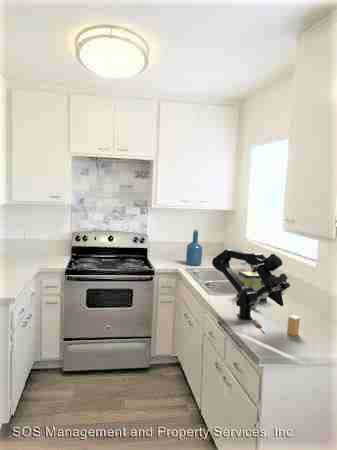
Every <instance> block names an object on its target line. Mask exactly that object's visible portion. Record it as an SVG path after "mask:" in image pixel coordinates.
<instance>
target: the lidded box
mask: <svg viewBox="0 0 337 450" xmlns="http://www.w3.org/2000/svg"><path fill="white" fill-rule="evenodd" d="M287 318H288V319H287V330H286V331H287V332H286V334H287V335H290V336H293V337H295V336H298V335H299V330H300V329H299V328H300V321H301V316H298V315H295V314H292V315H288V317H287Z"/></svg>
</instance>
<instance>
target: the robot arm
mask: <svg viewBox="0 0 337 450" xmlns="http://www.w3.org/2000/svg"><path fill="white" fill-rule="evenodd" d="M232 259H236V260H239V261H243V262H246V263H247V264H249V265H250V266H251V265H252V266H254V267H253V270H252V272H253V273H255V272H257V273H258V275H259V277H260V278H261V280H262V281H260V282H261V283H263V284H264V286H265V287H262V288H261V289H259V290H258V291H257V293H256V292H255V291H254V290H253V288H252V287H249V288H247V287H246V286H245V285H244V284H243V283H242V281H241V280H240V279H239V278H238V274H236V273H235V272H234V270H233V269H232V268H231V266H230V261H231V260H232ZM211 265H212V267H214V269H216V270H217V271H219V272H220V273H221V274H223V275H224V276H225V278H226V279H227V280H228V281H229V283H230V284H231V285H232V286H233V288H234V289H235V290H236V292H237V291H238V294H239V297H238V298H239V299H237V300H236V302H235V304H236V306H237V307H239V310H238V312H239V313H236V316H237V317H238V318H239V319H240V320H250V321H251V320H252V321H253V318H252V315H251V314H252V313H251V312H252V308H251V306H254V305H255V303H256V304H257V300H258V298H257V297H262V296H263V294H264V293H267V298H269V299H270V300H272V301H273V302H275V303H276V304H277V305H279V306H280V307H283V306H284V300H283V294H282V293H283V292H284V291H286V290H287V289H288V288H290V287H291V284H290V283H289V282H287V280H288V277H287V276H288V275H286V273H281V274H279V276H276V275H275V274H272V272H274V271H276V270H277V269H279V268H280V267H281V266H283V261H282V259H281V258H280V256H278V255H276V254H275V253H271V254H270V255H269V256H268V257H267V256H265V255H264V253H261V252H251V253H250V252H244V251H241V250H235V249H231V248H230V249H229V248H228V249H224V250H223V251H222V252H221V253H219V254H217V255H216V256H215V257H213V259H212V261H211Z"/></svg>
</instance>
